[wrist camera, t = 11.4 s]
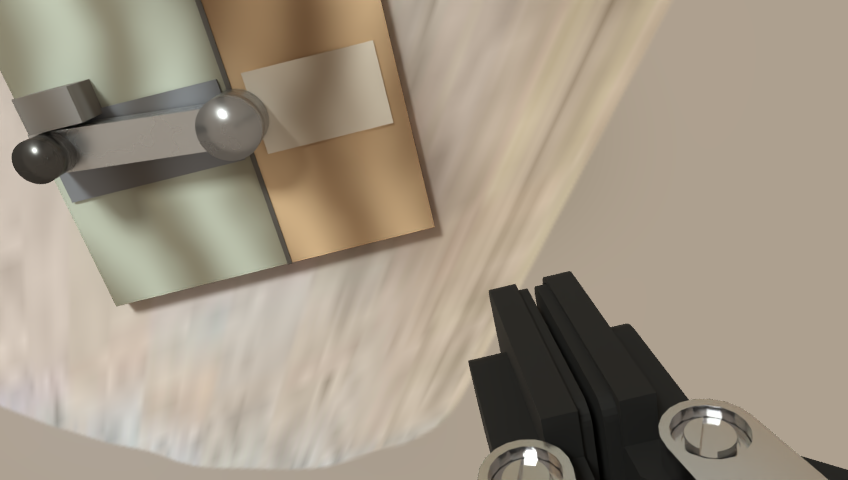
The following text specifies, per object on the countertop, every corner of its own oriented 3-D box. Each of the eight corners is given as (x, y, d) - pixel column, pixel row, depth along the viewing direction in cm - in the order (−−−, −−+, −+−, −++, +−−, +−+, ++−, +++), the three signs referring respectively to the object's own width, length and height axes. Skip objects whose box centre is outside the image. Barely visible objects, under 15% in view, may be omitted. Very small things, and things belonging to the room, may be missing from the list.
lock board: (355, -103, 34) (355, -115, 30) (432, 220, 42) (440, 244, 38) (-26, -8, 34) (-75, -8, 30) (122, 298, 42) (98, 329, 38)
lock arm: (261, 84, 36) (249, 95, 32) (275, 143, 37) (265, 161, 33) (39, 117, 35) (-1, 132, 32) (61, 176, 37) (26, 197, 33)
